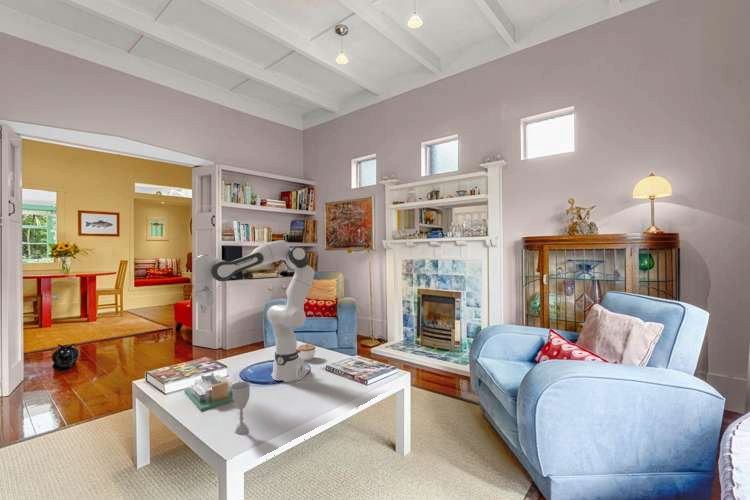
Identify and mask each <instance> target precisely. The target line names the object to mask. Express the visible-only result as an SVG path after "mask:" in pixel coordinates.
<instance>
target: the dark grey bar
mask: <svg viewBox="0 0 750 500" xmlns="http://www.w3.org/2000/svg"><path fill="white" fill-rule="evenodd" d="M204 379H205V380H206V381H207V382H208V383H209V384H210V385H214V384H218V383H222V382H221V381H217V380H216V379H215V378H214V377H212V376H211V374H210V375H209V374H208V375H204Z"/></svg>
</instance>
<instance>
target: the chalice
mask: <svg viewBox="0 0 750 500" xmlns="http://www.w3.org/2000/svg"><path fill="white" fill-rule="evenodd" d="M232 384H233V385H232V386H231V388H232V389H233V403H234V405H235V407H236V409H238V410H239V413H238V414H239V424H237V425H236V428H235V430H234V433H235V434H236V435H242V434H246V433H247V432H249V427H248V425H247V424H246V423H245V422H244V418H245V417H244V409H245V408H246V406H247V404H248V401H249V399H250V396H251V395H250V392H251V391H250V388H251V385H252V382H250V381H239V382H235V383H232Z"/></svg>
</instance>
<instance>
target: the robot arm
mask: <svg viewBox="0 0 750 500" xmlns="http://www.w3.org/2000/svg"><path fill="white" fill-rule="evenodd" d="M277 261H282V262H283V264H284V265H285V266H286V267H287V268H288V269H289V270H291V271H294V274H293V276H292V277H291V281H290V283H289V285H288V287H287V289H286V291H285V295H286V296H287V301H286V305H285V304H274V305H272V306H270V307H269V308H268V309H267V312H266V317H267V320H268V321H269V322H270V324H271V327H272V331H273V334H274V339H275V340H274V341H275V352H274V360H273V364H272V366H273V367H272V373H270V377H272V380H273V379H274V380H283V381H284V382H283V383H291V382H295V381H301V380H303V379H304V378H305V376H306V375H308V373H309V371H310V368H309V367H308V366H306V361H304V360H303V359H302V358H300V357H299V354H298V353H300V352H301V350H300V349H298V347H297V339H298V338H297V336H296V333H295V332H294V330H293V329H299V328H301V327H302V326H304V324H305V322H306V320H307V319H306V318H307V316H306V313H305V311H304V309H305V306H304V305H305V302H306V301H305V300H306V298H307V296H308V293H309V291H310V289H311V286H312V284H313V281H314V277H315V270H314V268H313V267H311V266H309V254H308V250H307V249H306V248H305V247H304V246H301V245H296V246H295V245H294V246H293V247H290V245H289V244H288V242H287V241H286V240H283V239H282V240H280V239H279V240H274V241H270V242H267V243H264V244H261V245H259V246H257V247H256V248H254V249H253V251H251V253H249V254H248V255H245V256H243V257H241V258H237V259H234V260H231V261H226V260H223V259H220V258H217V257H215V256H213V255H212V254H209V253H208V254H201V255H198V256H196V257H195V258H194V259H193V276H194V277H193V283H192V284H191V288H192V289H193V290H192V292H193V300H194V303H197V304H199V307H200V313H202V314H206V313H207V310H208V307H213V306H214V293H213V291H212V290H213V288H214V286H213V285H214V282H213V281H214V280H213V279H215V280H216V281H218V282H226V281H229V280H230V279H231V278H233V277H234V276H235V275H236V274H238V273H239V272H242V271H245V270H247V269H250V268H253V267H257V266H263V265H269V264H271V263H274V262H277ZM274 380H273V381H274Z"/></svg>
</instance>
